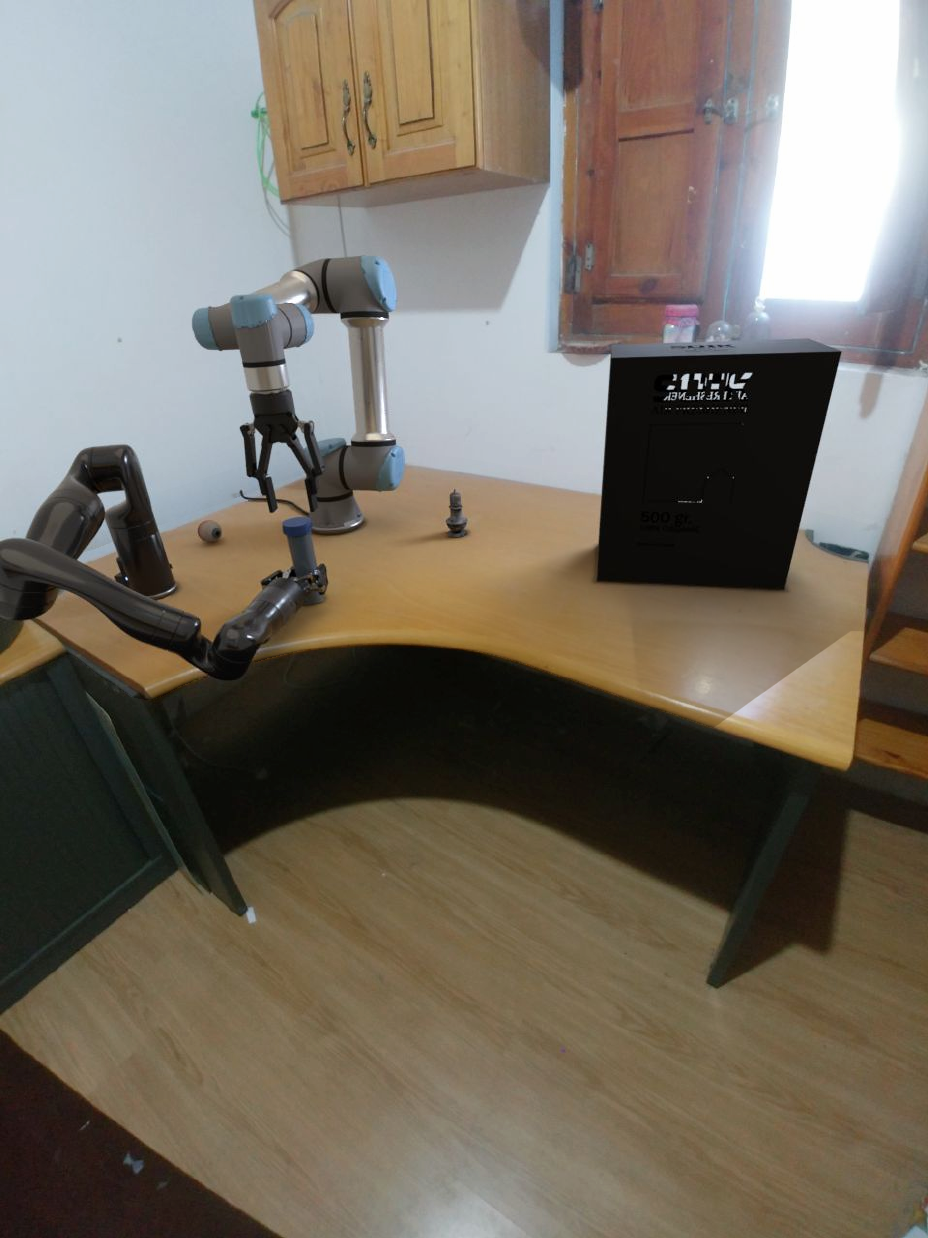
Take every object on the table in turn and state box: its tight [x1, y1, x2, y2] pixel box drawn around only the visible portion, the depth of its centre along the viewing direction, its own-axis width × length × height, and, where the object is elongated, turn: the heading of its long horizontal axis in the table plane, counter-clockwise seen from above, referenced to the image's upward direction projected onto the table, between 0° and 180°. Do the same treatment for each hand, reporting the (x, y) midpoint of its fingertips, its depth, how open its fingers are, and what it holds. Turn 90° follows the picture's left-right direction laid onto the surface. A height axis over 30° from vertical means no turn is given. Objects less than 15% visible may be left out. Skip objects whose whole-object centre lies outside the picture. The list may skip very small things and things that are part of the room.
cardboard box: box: [596, 337, 842, 591], centre depth 125 cm, size 38×20×45 cm, turn 78°
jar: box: [286, 531, 324, 606], centre depth 127 cm, size 5×5×17 cm
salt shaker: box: [444, 488, 469, 538], centre depth 156 cm, size 6×6×12 cm
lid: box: [281, 516, 313, 537], centre depth 123 cm, size 6×6×2 cm
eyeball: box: [197, 519, 223, 544], centre depth 161 cm, size 6×6×6 cm
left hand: (311, 567), depth 130 cm, fingers closed on jar, 5 cm apart
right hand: (293, 509), depth 121 cm, fingers open, 8 cm apart
